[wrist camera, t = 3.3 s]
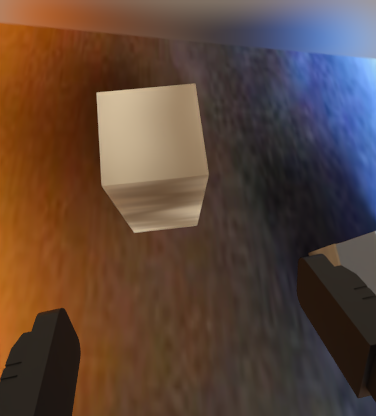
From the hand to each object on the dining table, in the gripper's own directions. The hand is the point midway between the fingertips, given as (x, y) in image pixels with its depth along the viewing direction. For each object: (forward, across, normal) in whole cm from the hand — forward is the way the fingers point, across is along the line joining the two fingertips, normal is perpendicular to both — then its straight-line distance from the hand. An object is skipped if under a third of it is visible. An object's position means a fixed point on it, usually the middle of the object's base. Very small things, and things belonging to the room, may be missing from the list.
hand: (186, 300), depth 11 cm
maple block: (+13, 0, +3) cm, 13 cm away
